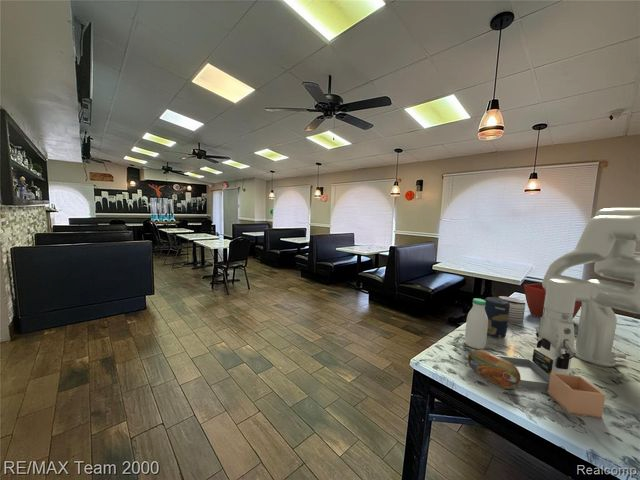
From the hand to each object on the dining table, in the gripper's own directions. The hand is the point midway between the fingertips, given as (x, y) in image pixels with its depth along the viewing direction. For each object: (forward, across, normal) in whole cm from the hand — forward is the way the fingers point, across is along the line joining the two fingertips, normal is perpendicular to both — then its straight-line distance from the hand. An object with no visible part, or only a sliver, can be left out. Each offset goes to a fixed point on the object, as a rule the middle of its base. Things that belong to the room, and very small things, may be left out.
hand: (550, 360), depth 88 cm
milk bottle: (+4, +14, +19) cm, 24 cm away
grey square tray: (+4, -4, +12) cm, 14 cm away
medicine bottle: (+5, 0, 0) cm, 5 cm away
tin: (+5, -9, +23) cm, 25 cm away
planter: (+4, -17, +5) cm, 18 cm away
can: (+4, +47, -12) cm, 49 cm away
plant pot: (+4, +56, -37) cm, 67 cm away
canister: (+4, +26, +6) cm, 27 cm away
